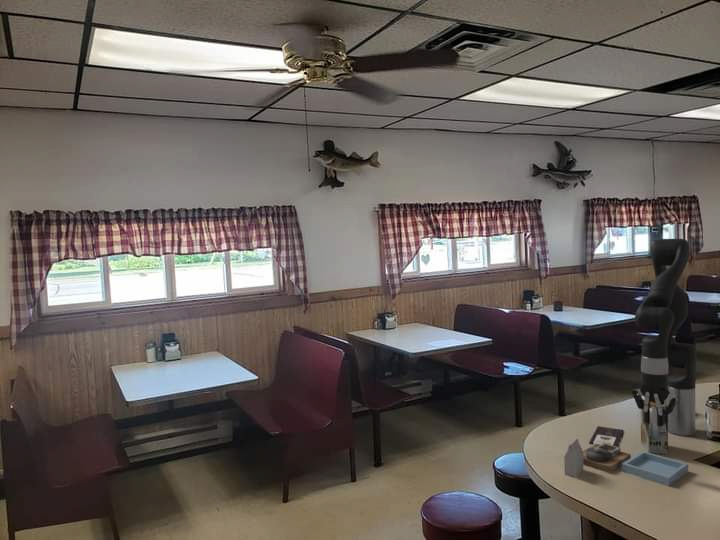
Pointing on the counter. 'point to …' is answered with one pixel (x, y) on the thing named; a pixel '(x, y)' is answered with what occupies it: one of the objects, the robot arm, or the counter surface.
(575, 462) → the grey house block
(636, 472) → the tray
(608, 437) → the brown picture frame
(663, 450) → the coffee box
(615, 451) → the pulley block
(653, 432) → the lock pin
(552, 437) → the counter surface
